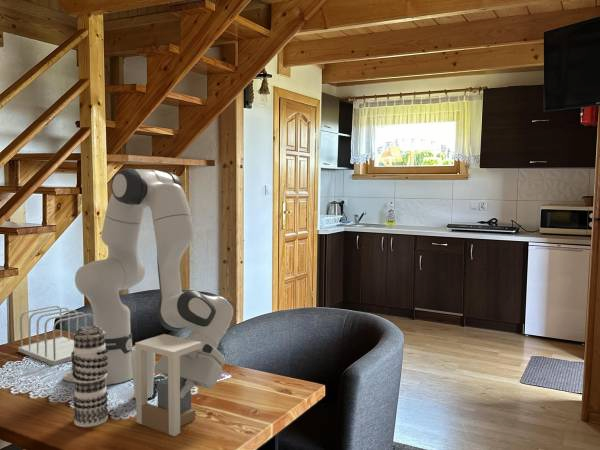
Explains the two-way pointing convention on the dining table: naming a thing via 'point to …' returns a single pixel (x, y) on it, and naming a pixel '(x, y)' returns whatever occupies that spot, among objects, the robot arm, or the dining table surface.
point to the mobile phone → (224, 376)
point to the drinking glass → (149, 371)
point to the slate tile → (163, 396)
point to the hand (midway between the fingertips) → (172, 395)
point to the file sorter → (53, 348)
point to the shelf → (173, 349)
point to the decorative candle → (89, 376)
